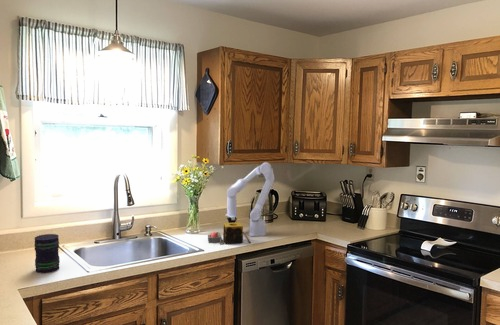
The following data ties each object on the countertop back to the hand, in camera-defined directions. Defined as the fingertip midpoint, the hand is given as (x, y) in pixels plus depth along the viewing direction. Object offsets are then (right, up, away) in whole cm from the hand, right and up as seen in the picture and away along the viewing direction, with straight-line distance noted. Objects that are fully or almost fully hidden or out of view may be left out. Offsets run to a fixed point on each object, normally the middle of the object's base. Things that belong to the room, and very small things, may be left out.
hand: (231, 229), depth 252 cm
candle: (+1, -5, -17) cm, 18 cm away
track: (+2, -4, -10) cm, 10 cm away
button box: (-9, -4, -17) cm, 19 cm away
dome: (-9, -4, -17) cm, 19 cm away
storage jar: (-80, -8, -66) cm, 104 cm away
